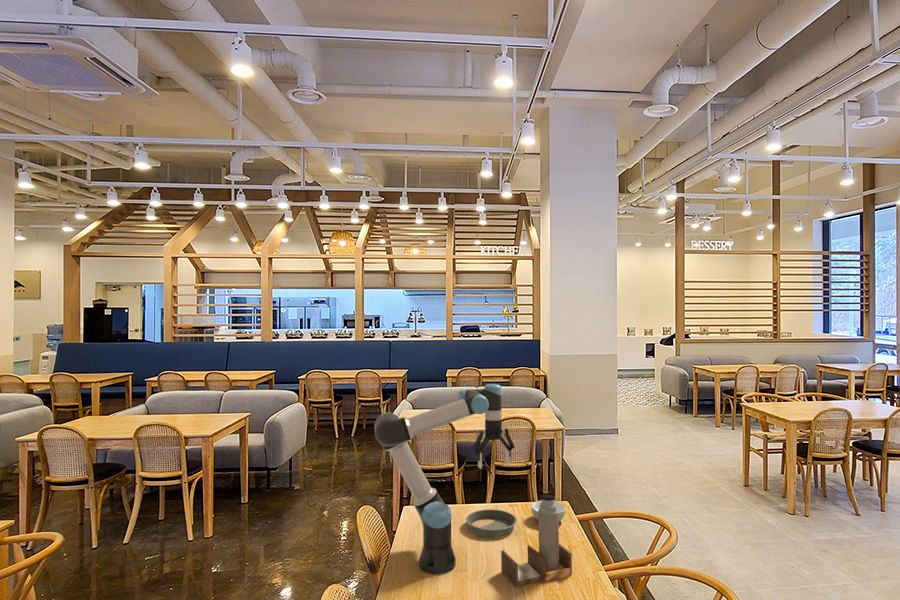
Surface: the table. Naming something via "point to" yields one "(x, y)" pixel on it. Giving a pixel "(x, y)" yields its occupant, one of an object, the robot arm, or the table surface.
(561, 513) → the cereal bowl
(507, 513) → the cake pan
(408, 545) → the table surface
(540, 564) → the rack
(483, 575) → the table surface
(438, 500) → the robot arm
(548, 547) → the thermos bottle
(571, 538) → the table surface
